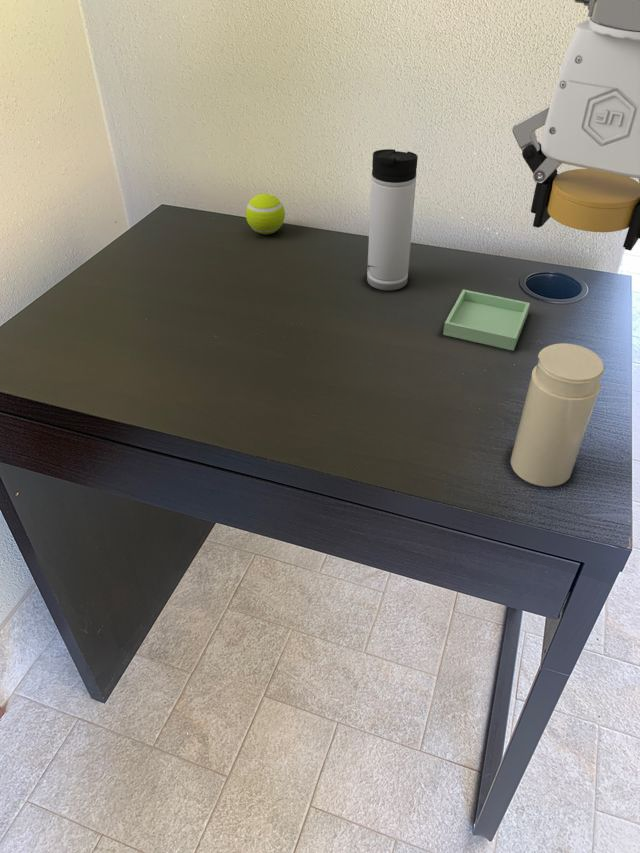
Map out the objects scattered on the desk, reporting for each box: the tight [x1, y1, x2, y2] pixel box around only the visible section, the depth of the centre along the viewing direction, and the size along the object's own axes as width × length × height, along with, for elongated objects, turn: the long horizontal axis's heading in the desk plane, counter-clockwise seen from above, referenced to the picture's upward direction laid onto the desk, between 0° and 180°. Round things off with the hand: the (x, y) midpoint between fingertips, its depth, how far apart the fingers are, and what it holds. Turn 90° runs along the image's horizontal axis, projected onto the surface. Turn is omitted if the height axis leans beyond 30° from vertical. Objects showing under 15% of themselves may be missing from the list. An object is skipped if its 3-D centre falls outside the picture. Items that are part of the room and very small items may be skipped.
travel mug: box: [366, 148, 419, 292], centre depth 99 cm, size 6×7×20 cm
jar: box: [510, 342, 605, 488], centre depth 71 cm, size 7×7×14 cm
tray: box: [442, 289, 531, 352], centre depth 96 cm, size 10×10×2 cm
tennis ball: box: [245, 193, 286, 235], centre depth 117 cm, size 7×7×7 cm
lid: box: [547, 168, 640, 233], centre depth 60 cm, size 8×8×3 cm
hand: (585, 231), depth 62 cm, fingers closed on lid, 7 cm apart
